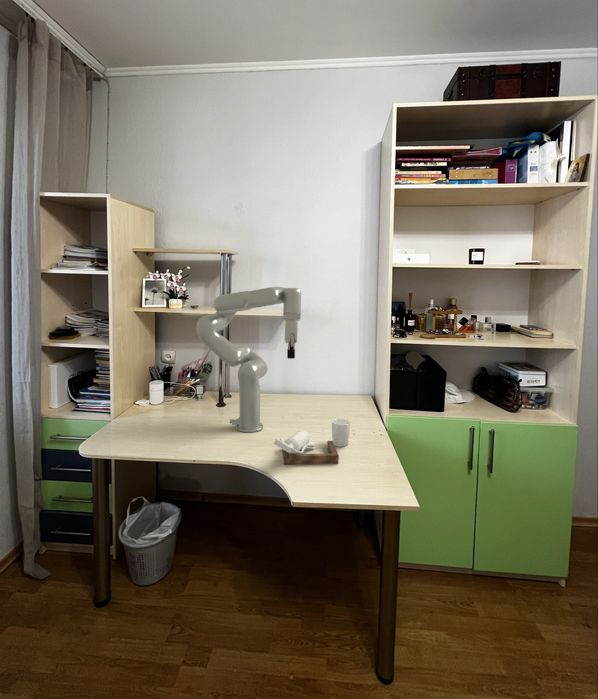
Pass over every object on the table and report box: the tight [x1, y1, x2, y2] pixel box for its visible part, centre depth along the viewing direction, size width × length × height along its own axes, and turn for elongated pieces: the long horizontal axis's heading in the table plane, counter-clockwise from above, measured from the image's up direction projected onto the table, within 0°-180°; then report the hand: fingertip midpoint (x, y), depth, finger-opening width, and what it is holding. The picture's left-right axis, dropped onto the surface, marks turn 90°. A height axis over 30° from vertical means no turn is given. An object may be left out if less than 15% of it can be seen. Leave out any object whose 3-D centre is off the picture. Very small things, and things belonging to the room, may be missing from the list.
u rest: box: [281, 440, 340, 466], centre depth 184 cm, size 21×15×4 cm
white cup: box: [331, 418, 351, 448], centre depth 197 cm, size 8×8×10 cm
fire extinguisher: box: [273, 430, 317, 454], centre depth 182 cm, size 7×12×25 cm
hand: (291, 358), depth 202 cm, fingers closed
